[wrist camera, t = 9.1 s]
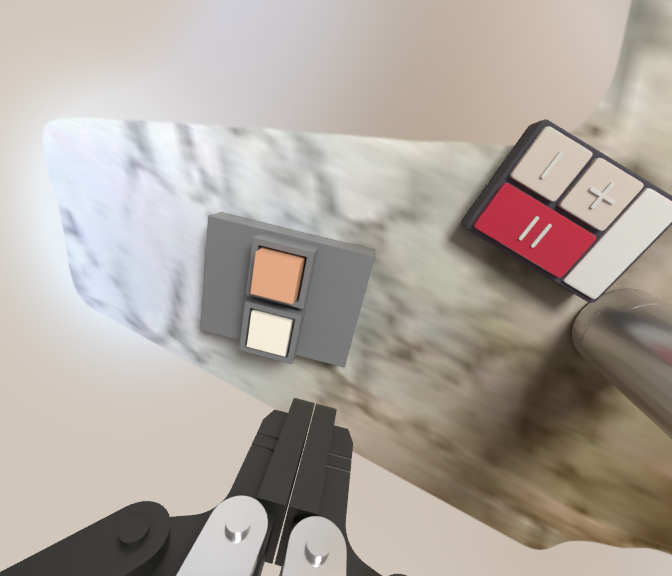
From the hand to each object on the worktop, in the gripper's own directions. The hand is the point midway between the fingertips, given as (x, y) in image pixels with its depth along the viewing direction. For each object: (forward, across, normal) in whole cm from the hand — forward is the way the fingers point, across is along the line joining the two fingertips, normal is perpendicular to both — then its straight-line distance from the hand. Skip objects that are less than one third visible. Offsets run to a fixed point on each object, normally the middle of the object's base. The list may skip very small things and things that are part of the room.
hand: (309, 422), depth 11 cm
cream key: (+24, +7, +11) cm, 27 cm away
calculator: (+28, -18, -8) cm, 34 cm away
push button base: (+27, +7, +7) cm, 29 cm away
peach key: (+23, +7, +4) cm, 24 cm away
